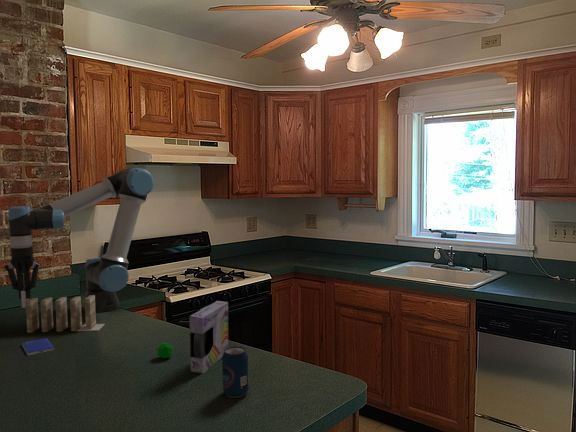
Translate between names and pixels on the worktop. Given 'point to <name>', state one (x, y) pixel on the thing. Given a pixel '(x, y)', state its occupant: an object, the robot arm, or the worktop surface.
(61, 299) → the domino
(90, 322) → the domino
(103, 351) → the worktop surface
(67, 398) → the worktop surface
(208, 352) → the cake pan box
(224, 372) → the soda can
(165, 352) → the polyhedron
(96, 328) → the end pad
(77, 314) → the domino
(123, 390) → the worktop surface
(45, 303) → the domino
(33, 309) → the domino
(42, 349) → the hard drive
